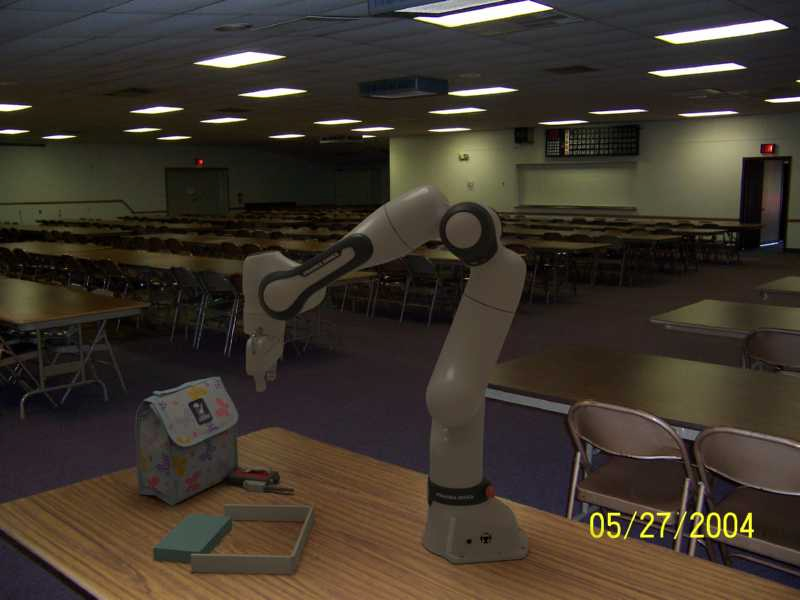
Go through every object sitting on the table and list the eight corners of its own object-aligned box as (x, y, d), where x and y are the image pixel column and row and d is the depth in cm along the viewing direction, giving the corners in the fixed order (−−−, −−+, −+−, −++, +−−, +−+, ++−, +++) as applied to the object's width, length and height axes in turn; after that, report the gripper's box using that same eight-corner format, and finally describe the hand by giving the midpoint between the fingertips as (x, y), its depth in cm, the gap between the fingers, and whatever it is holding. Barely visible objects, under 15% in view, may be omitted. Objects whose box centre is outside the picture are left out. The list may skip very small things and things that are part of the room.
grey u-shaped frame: (314, 520, 162) (313, 505, 162) (294, 574, 139) (293, 557, 139) (225, 518, 163) (225, 504, 163) (191, 571, 140) (190, 555, 140)
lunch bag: (178, 511, 167) (172, 401, 163) (131, 495, 176) (125, 390, 172) (247, 479, 186) (243, 379, 182) (201, 466, 195) (197, 371, 191)
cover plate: (232, 529, 159) (231, 516, 159) (200, 566, 144) (199, 552, 143) (189, 526, 161) (189, 513, 160) (153, 561, 145) (153, 547, 145)
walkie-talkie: (219, 489, 181) (292, 498, 175) (218, 472, 180) (291, 480, 175) (236, 476, 189) (306, 484, 184) (235, 460, 188) (306, 467, 183)
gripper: (267, 333, 147) (269, 398, 149) (287, 316, 167) (289, 374, 169) (237, 333, 147) (239, 398, 149) (261, 316, 168) (263, 373, 170)
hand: (266, 385), depth 160 cm, fingers open, 8 cm apart
